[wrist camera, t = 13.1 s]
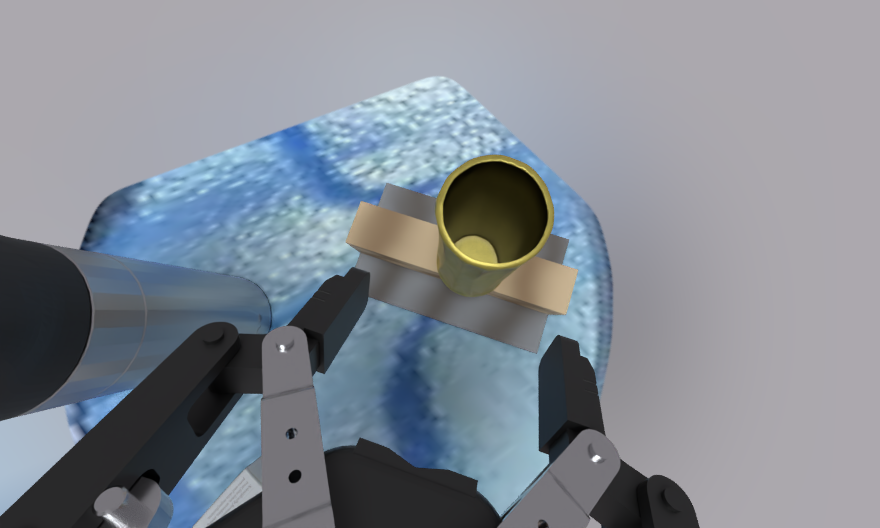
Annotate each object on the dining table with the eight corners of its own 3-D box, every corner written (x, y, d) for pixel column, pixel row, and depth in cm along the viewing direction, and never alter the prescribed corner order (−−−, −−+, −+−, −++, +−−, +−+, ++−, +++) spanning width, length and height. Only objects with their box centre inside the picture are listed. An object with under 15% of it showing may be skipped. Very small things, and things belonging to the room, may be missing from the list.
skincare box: (290, 431, 32) (244, 465, 25) (334, 475, 32) (300, 524, 24) (246, 481, 32) (186, 531, 24) (290, 527, 31) (241, 593, 24)
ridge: (349, 289, 34) (329, 285, 28) (388, 186, 36) (376, 161, 30) (534, 352, 33) (553, 361, 27) (565, 241, 34) (590, 226, 28)
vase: (480, 214, 29) (511, 120, 15) (521, 271, 28) (595, 229, 14) (423, 252, 28) (398, 192, 14) (462, 311, 28) (477, 309, 13)
